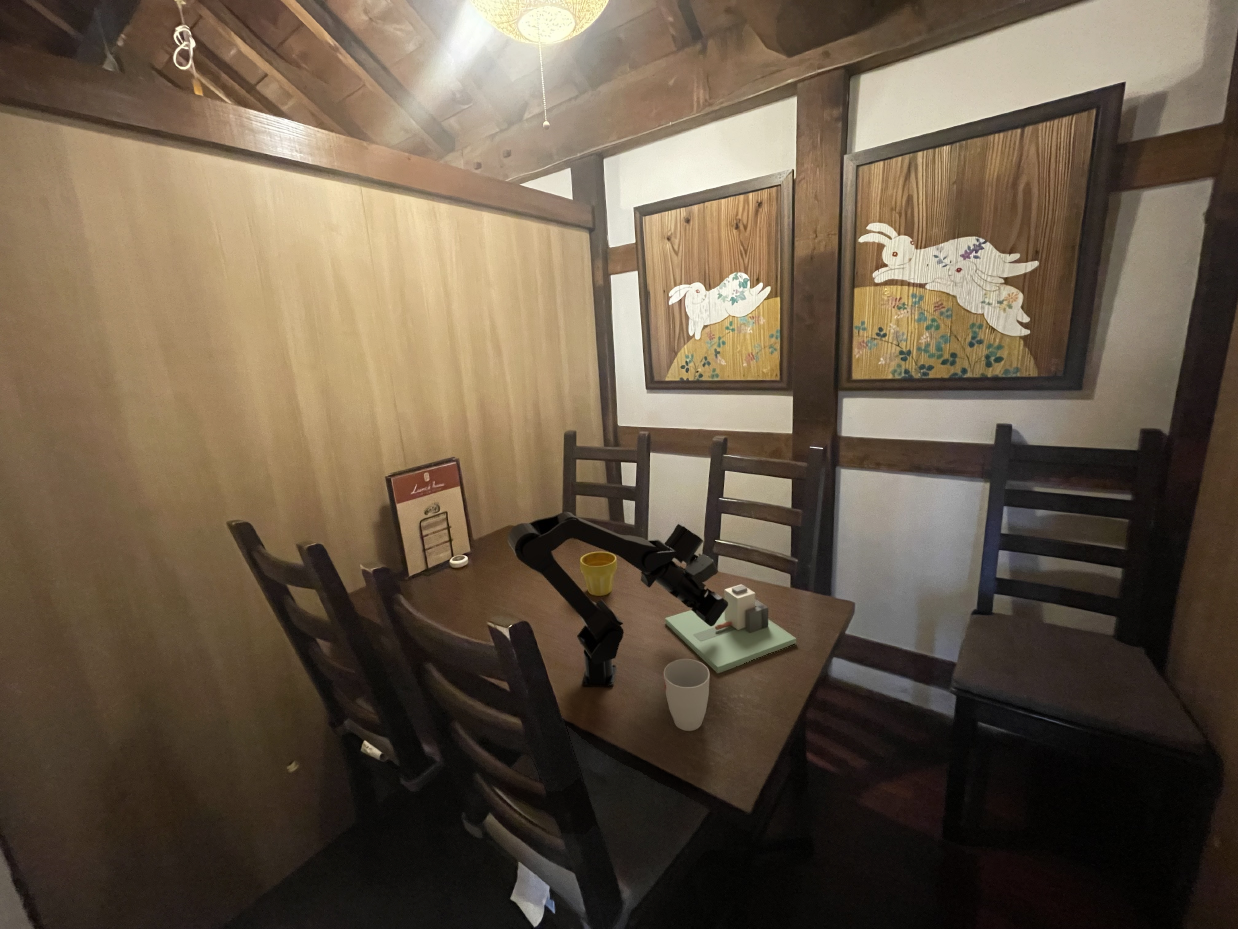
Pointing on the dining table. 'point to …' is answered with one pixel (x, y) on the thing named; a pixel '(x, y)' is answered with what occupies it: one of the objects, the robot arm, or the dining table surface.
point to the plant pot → (598, 571)
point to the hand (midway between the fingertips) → (715, 612)
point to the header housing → (757, 617)
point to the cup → (687, 692)
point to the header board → (727, 640)
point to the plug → (737, 606)
